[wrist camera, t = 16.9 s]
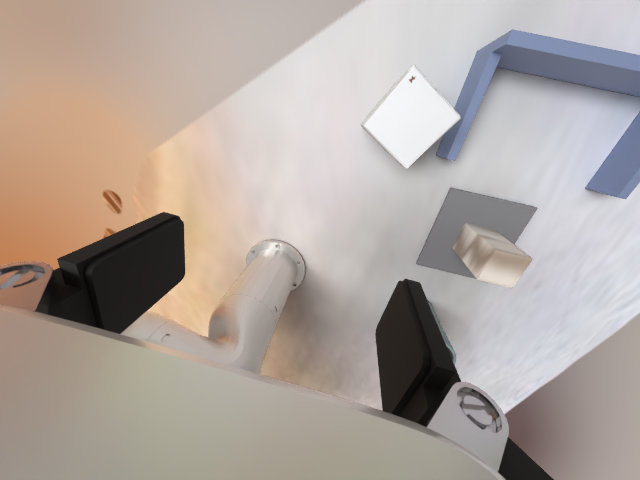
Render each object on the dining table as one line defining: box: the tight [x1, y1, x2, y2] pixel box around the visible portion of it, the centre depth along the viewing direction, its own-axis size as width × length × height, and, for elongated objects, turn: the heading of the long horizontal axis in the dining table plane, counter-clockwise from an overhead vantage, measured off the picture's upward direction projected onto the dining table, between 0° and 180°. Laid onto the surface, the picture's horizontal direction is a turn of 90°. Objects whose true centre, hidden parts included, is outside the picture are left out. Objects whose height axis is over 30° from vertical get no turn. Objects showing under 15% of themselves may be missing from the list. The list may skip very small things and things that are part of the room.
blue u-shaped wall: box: [436, 30, 640, 199], centre depth 31 cm, size 13×24×8 cm, turn 79°
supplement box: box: [361, 64, 461, 169], centre depth 31 cm, size 7×7×13 cm
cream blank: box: [453, 223, 532, 288], centre depth 38 cm, size 5×5×10 cm
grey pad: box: [416, 188, 537, 279], centre depth 42 cm, size 15×14×1 cm
